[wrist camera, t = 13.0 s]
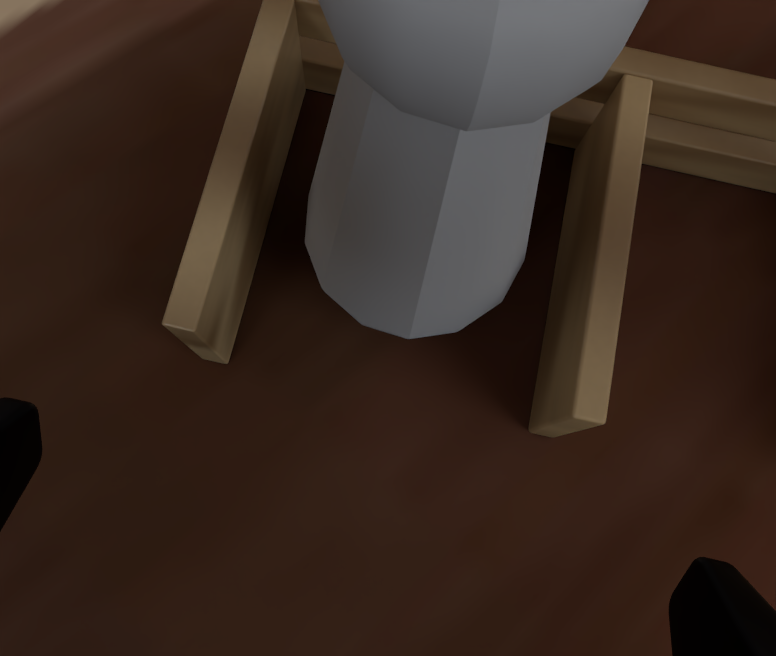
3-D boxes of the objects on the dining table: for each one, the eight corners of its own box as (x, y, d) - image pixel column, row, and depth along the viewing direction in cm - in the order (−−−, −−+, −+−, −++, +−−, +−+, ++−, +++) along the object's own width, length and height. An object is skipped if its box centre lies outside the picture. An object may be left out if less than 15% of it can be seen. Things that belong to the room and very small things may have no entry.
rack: (882, 512, 19) (1021, 519, 15) (200, 358, 19) (159, 324, 15) (893, 197, 21) (1016, 131, 17) (288, 62, 21) (272, -34, 17)
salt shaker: (270, 262, 19) (110, -158, 7) (401, 134, 21) (470, -424, 8) (418, 397, 19) (545, 206, 6) (545, 257, 20) (872, -146, 7)
